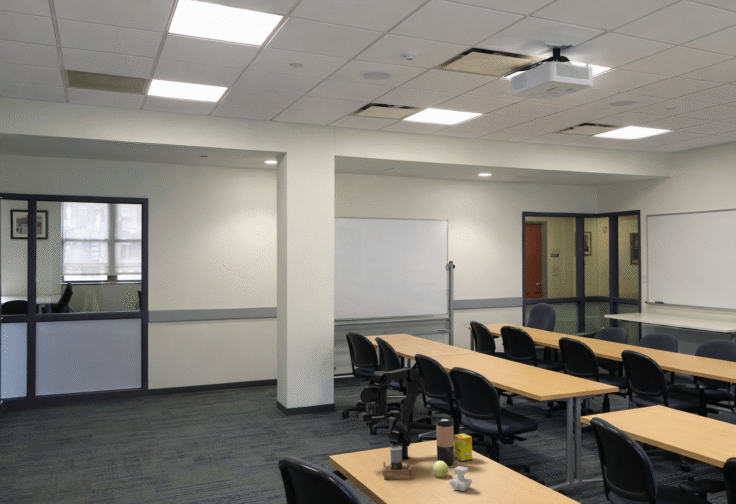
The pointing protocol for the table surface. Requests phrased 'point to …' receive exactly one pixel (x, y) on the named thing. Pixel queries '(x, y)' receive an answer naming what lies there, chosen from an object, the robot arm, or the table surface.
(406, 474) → the holder
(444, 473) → the tennis ball
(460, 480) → the stamp
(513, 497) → the table surface
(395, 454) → the canister
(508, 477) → the table surface
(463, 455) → the supplement box
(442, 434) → the travel mug
